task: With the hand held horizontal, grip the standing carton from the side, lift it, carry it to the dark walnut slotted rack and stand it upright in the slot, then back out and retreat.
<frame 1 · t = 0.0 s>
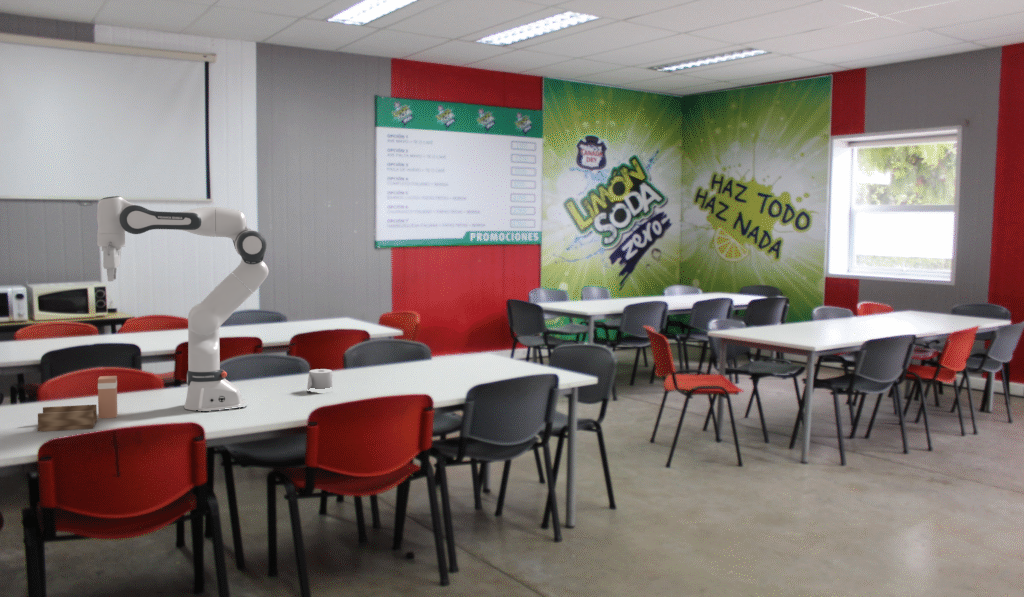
hand: (112, 280, 282), 48 cm above the table, tool pointing down, fingers open, 8 cm apart
carton: (108, 416, 279), on the table
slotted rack: (68, 425, 265), on the table
toilet tissue: (318, 392, 331), on the table
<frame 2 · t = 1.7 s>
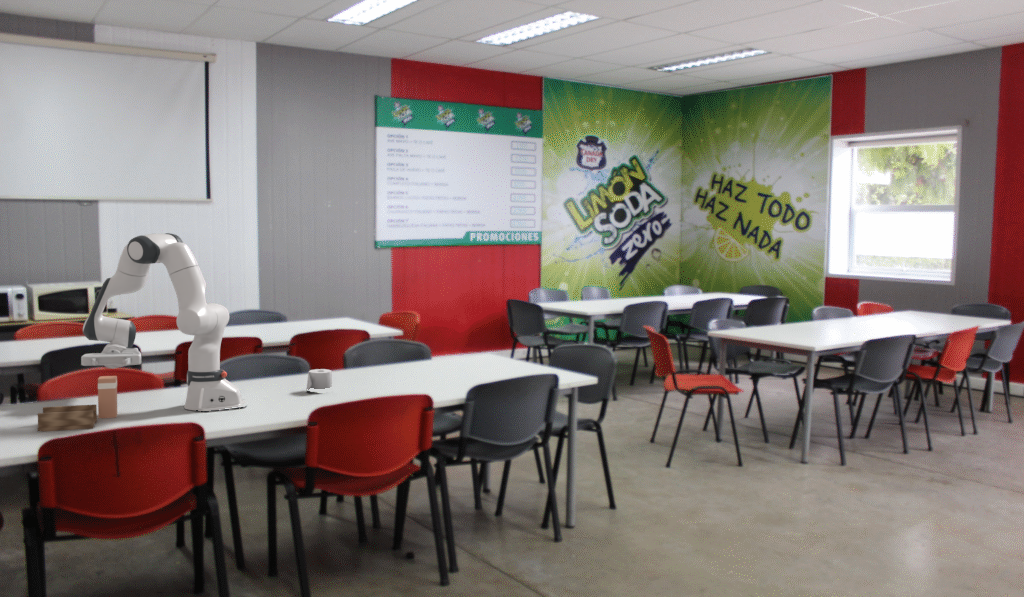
hand: (110, 362, 289), 17 cm above the table, tool horizontal, fingers open, 8 cm apart
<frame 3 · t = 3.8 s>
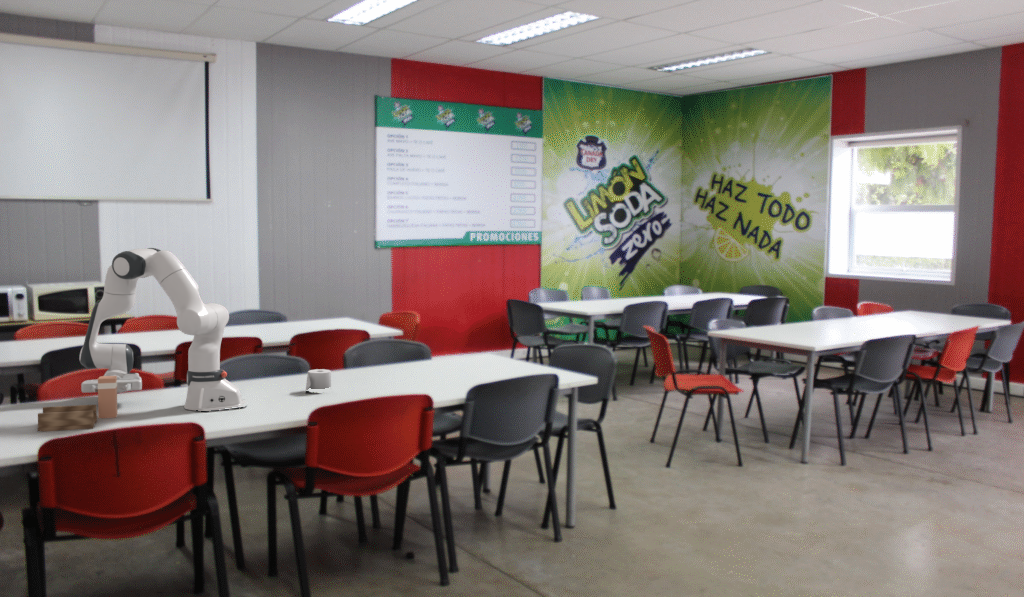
hand: (110, 389, 287), 8 cm above the table, tool horizontal, fingers open, 8 cm apart
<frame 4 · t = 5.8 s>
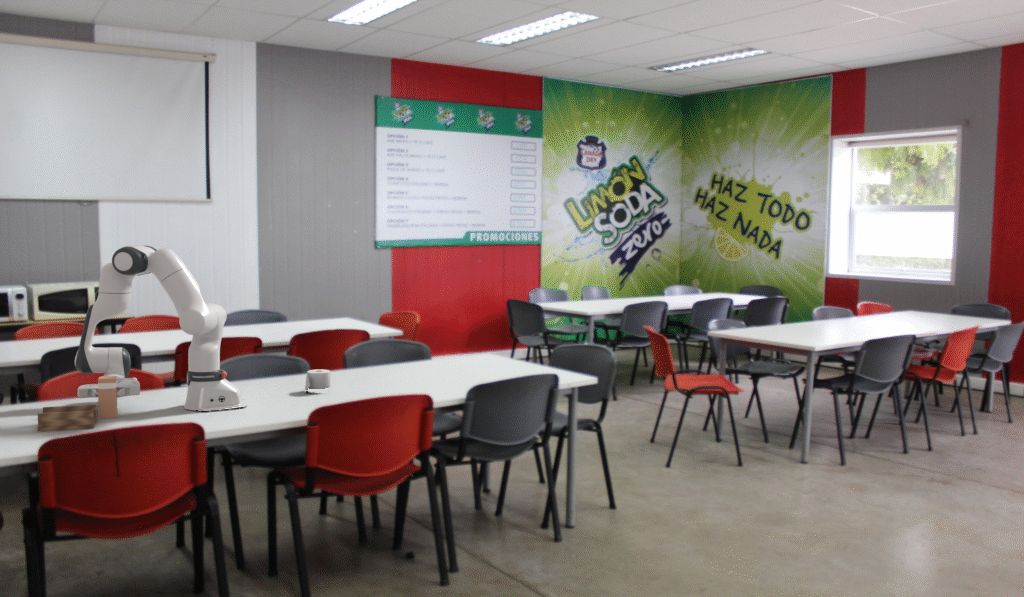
hand: (107, 394, 278), 8 cm above the table, tool horizontal, fingers closed on carton, 5 cm apart
carton: (108, 416, 279), on the table, touching gripper
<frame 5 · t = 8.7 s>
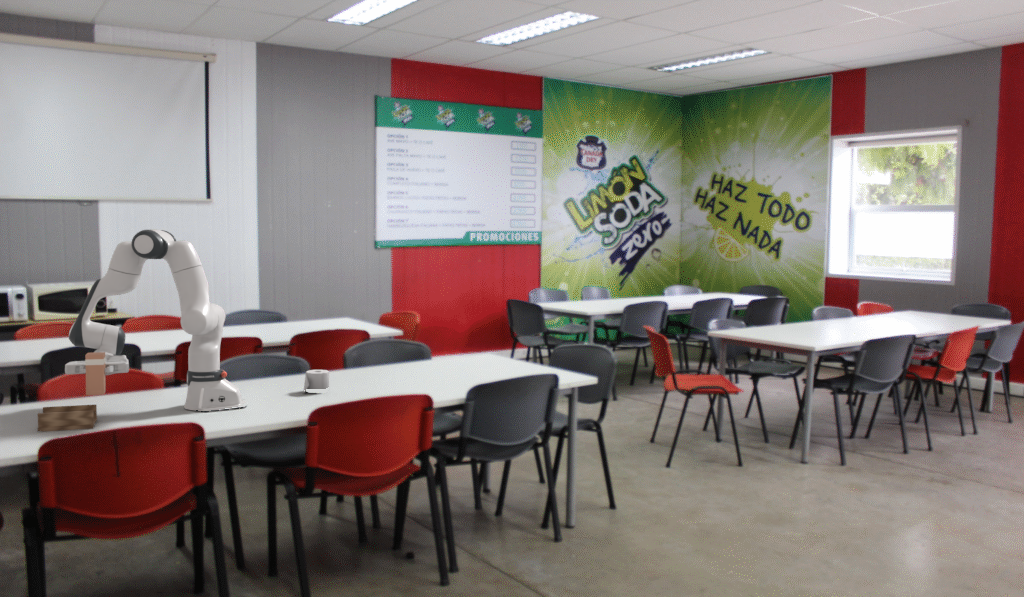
hand: (95, 371, 273), 17 cm above the table, tool horizontal, fingers closed on carton, 5 cm apart
carton: (95, 393, 275), point 9 cm above the table, touching gripper
when the fingers open (10 cm above the table, at t = 11.5 s): carton drops 1 cm, resting on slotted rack.
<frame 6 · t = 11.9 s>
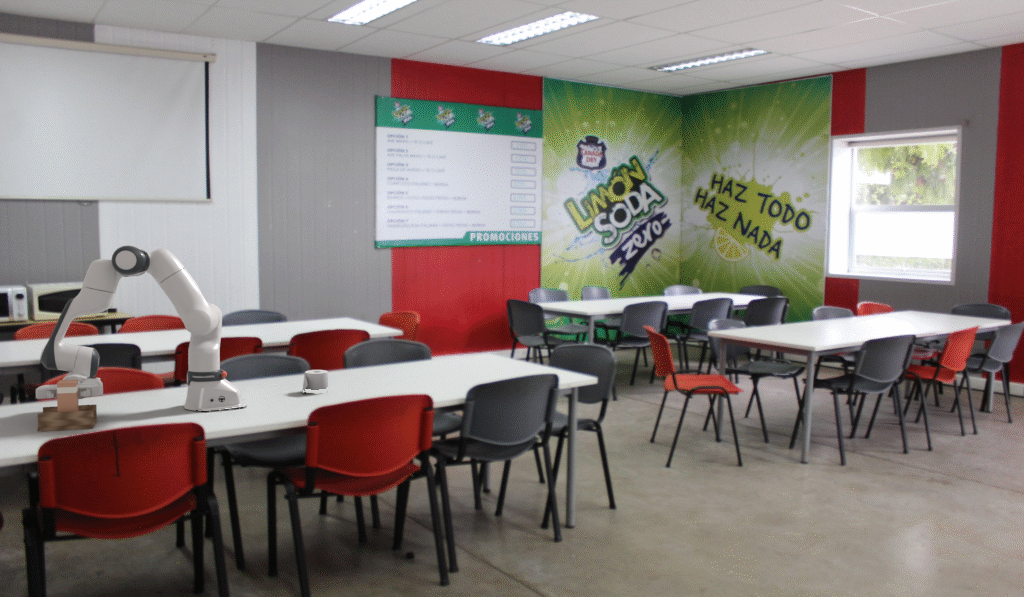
hand: (67, 395, 263), 10 cm above the table, tool horizontal, fingers open, 8 cm apart
carton: (68, 422, 265), point 1 cm above the table, touching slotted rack
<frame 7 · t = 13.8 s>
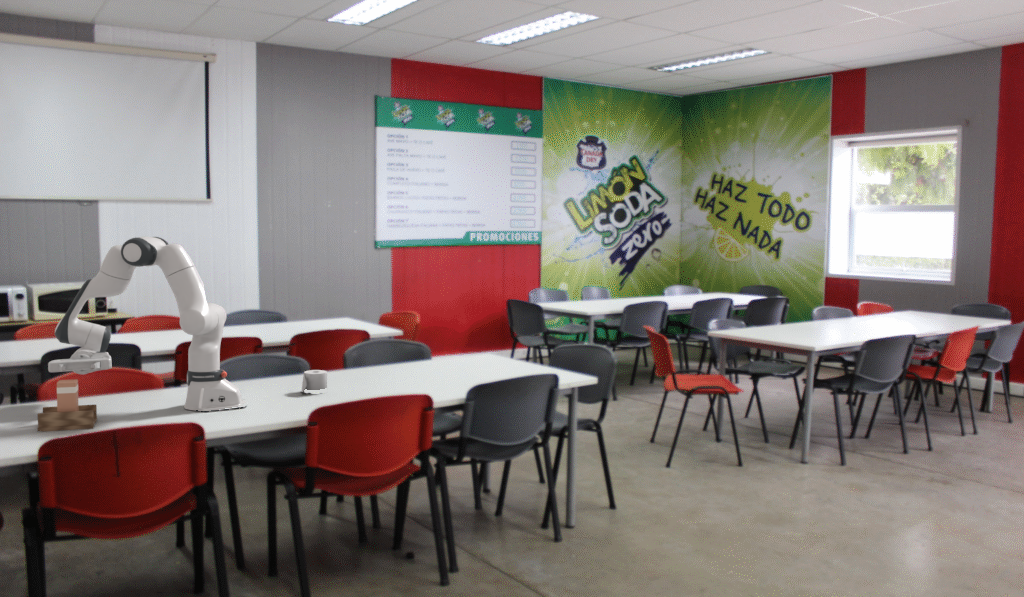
hand: (78, 367, 277), 17 cm above the table, tool horizontal, fingers open, 8 cm apart
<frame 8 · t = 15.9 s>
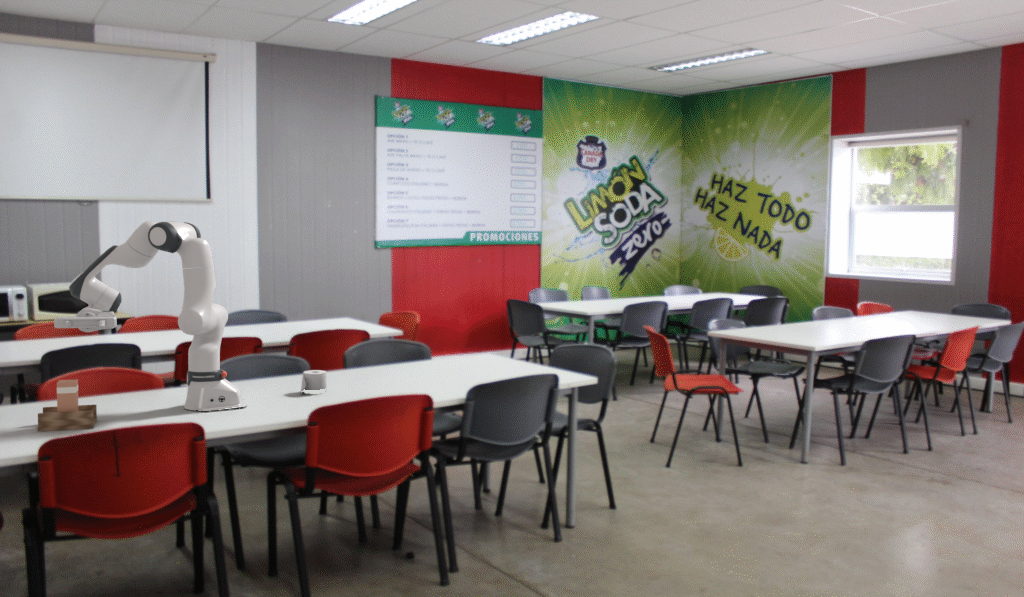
hand: (83, 324, 281), 32 cm above the table, tool horizontal, fingers open, 8 cm apart
at the end: carton inside the target area on the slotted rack (0.0 cm from its centre), point 1.2 cm above the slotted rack's base; carton tilted 0°; the gripper is holding nothing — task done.
